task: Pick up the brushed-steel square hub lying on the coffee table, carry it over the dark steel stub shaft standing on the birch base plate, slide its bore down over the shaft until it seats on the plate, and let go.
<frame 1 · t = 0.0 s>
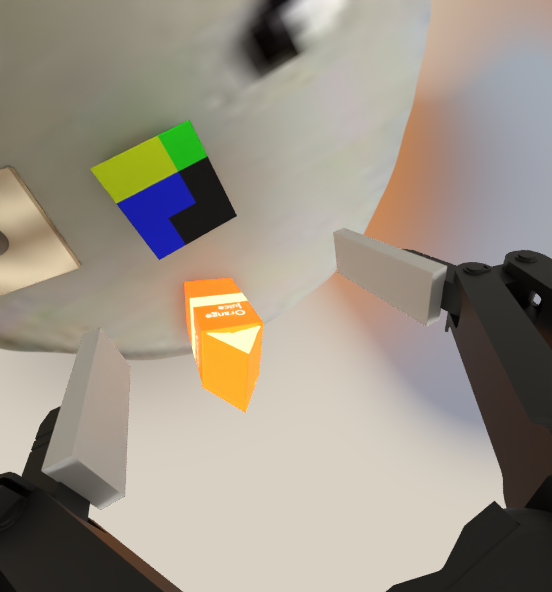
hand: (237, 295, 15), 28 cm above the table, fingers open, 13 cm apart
puzzle toy: (165, 185, 36), on the table
orange juice: (208, 302, 46), on the table
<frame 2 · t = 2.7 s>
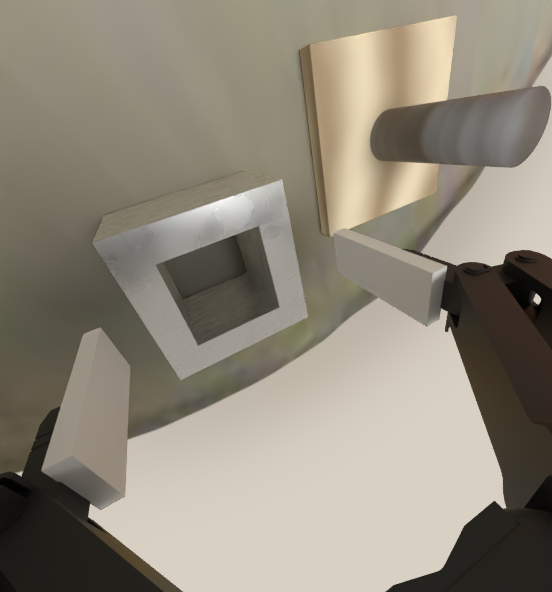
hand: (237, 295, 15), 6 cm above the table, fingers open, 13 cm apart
hub: (203, 254, 19), on the table
shaft block: (376, 136, 21), on the table
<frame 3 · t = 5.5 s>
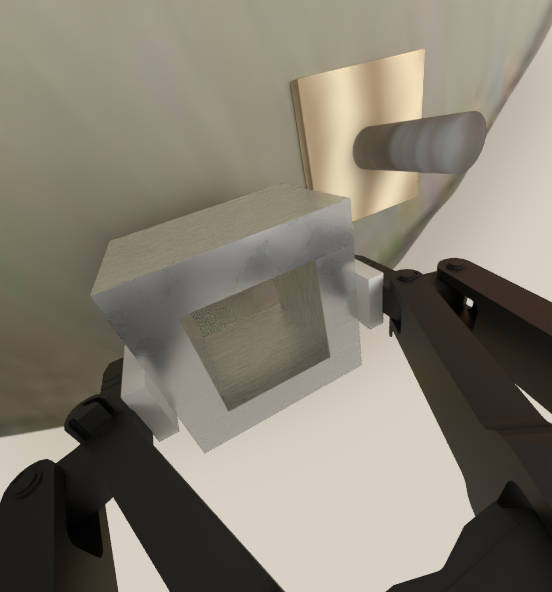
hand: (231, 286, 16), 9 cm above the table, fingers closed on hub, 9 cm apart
hub: (229, 284, 16), point 9 cm above the table, touching gripper
shaft block: (359, 148, 25), on the table
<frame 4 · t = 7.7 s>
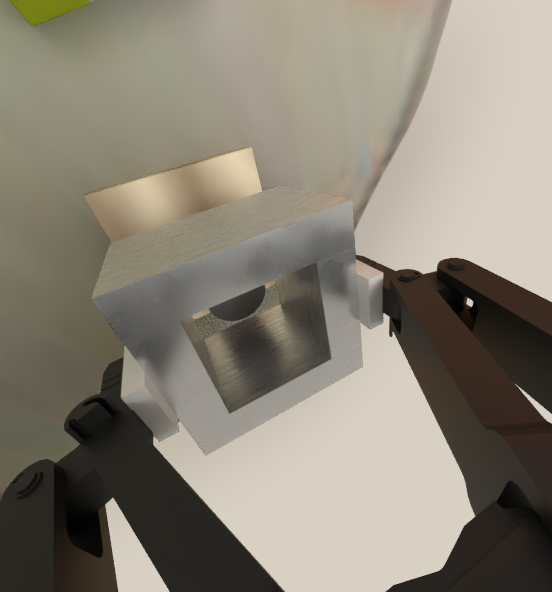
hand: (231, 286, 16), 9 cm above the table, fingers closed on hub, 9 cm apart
hub: (230, 286, 16), point 9 cm above the table, touching gripper
shaft block: (201, 243, 23), on the table
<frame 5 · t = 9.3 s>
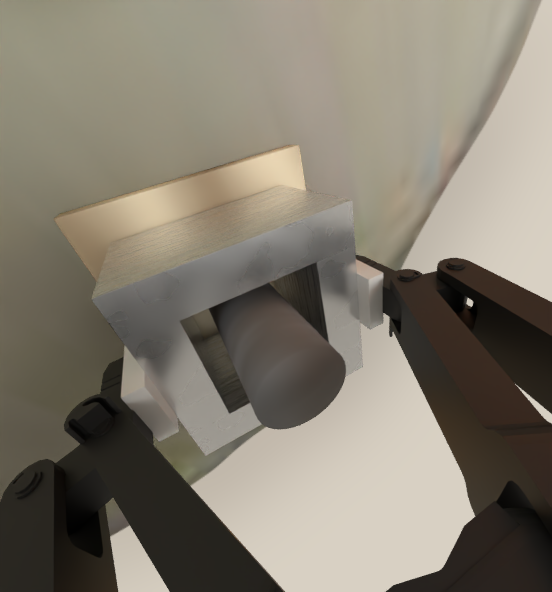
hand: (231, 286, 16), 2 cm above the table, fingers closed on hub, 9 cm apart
hub: (230, 286, 16), point 1 cm above the table, touching gripper
shaft block: (224, 275, 17), on the table
when the fingers open (1 cm above the table, at t = 10.2 s): hub stays where it is, resting on shaft block.
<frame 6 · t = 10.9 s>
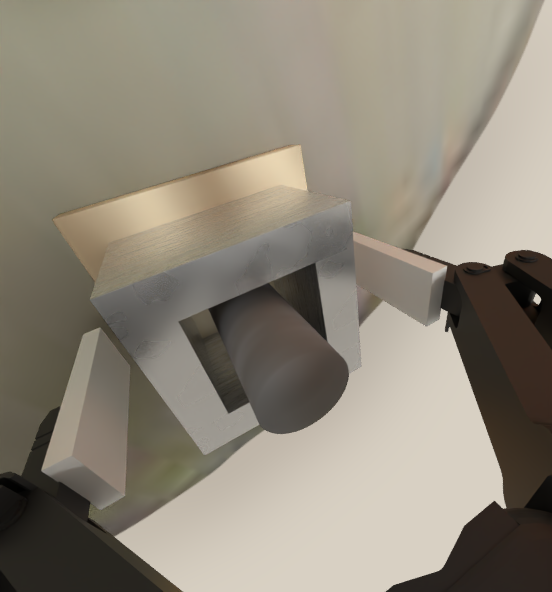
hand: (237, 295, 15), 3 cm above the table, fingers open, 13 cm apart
hub: (229, 285, 16), point 1 cm above the table, touching shaft block
shaft block: (224, 276, 17), on the table
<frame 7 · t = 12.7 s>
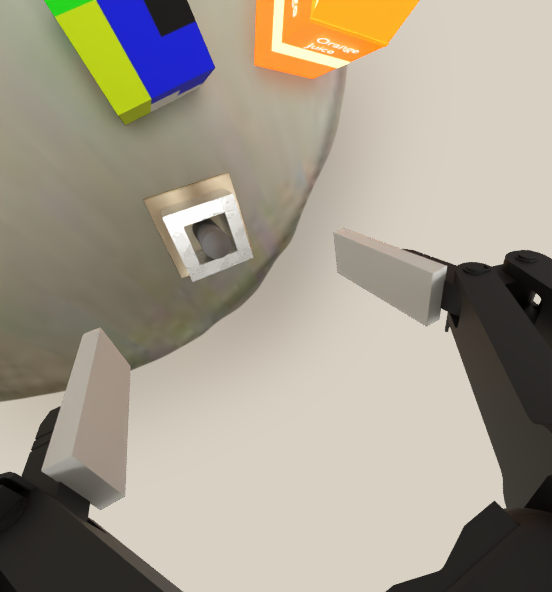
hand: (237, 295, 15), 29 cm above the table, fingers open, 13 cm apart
puzzle toy: (134, 56, 30), on the table
hub: (204, 228, 40), point 1 cm above the table, touching shaft block
shaft block: (202, 226, 41), on the table
orange juice: (286, 35, 35), on the table
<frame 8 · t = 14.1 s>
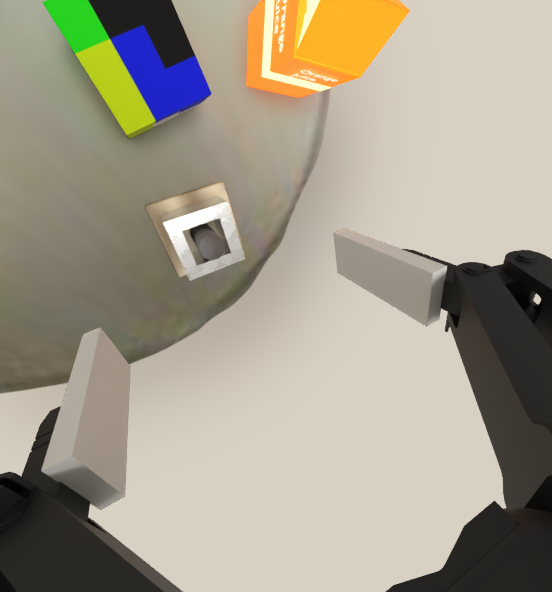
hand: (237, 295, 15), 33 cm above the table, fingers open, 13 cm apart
puzzle toy: (139, 78, 34), on the table
hub: (200, 232, 43), point 1 cm above the table, touching shaft block
shaft block: (199, 230, 44), on the table
orange juice: (275, 60, 39), on the table
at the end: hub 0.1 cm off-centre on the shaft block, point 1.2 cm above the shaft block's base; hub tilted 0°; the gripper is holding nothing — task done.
